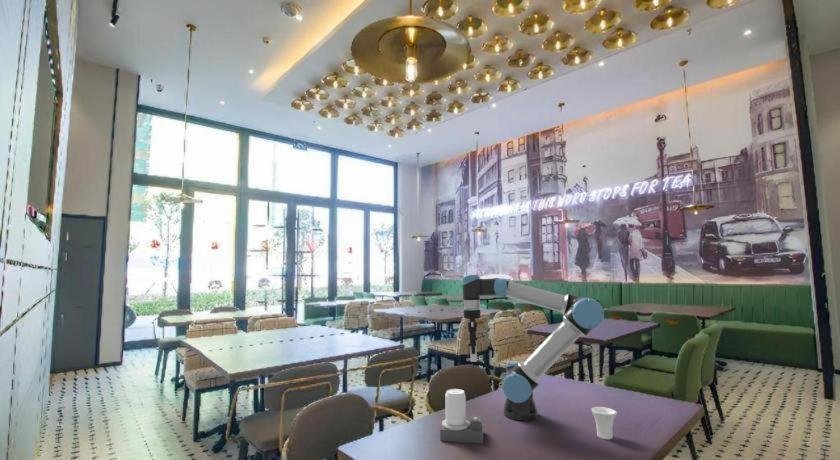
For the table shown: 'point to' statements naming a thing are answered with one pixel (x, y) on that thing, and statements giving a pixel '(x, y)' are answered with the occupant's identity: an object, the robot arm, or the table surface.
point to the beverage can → (455, 407)
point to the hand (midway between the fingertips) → (473, 358)
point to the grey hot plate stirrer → (463, 431)
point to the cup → (604, 421)
